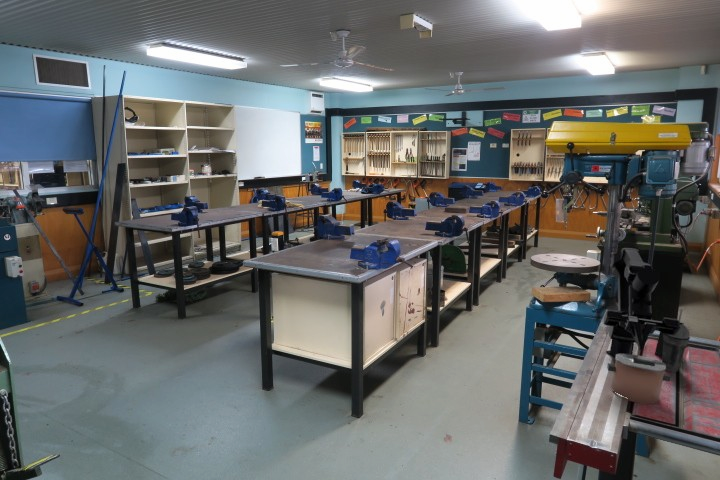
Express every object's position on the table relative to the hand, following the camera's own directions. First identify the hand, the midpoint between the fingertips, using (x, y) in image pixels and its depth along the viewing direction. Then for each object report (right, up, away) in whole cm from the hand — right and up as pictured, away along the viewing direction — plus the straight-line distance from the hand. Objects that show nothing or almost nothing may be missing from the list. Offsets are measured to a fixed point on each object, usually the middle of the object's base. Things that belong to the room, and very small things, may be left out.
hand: (641, 349), depth 136 cm
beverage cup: (+20, -10, +18) cm, 29 cm away
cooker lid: (-1, -4, 0) cm, 4 cm away
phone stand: (+26, -8, +29) cm, 40 cm away
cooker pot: (-1, -13, +2) cm, 13 cm away
